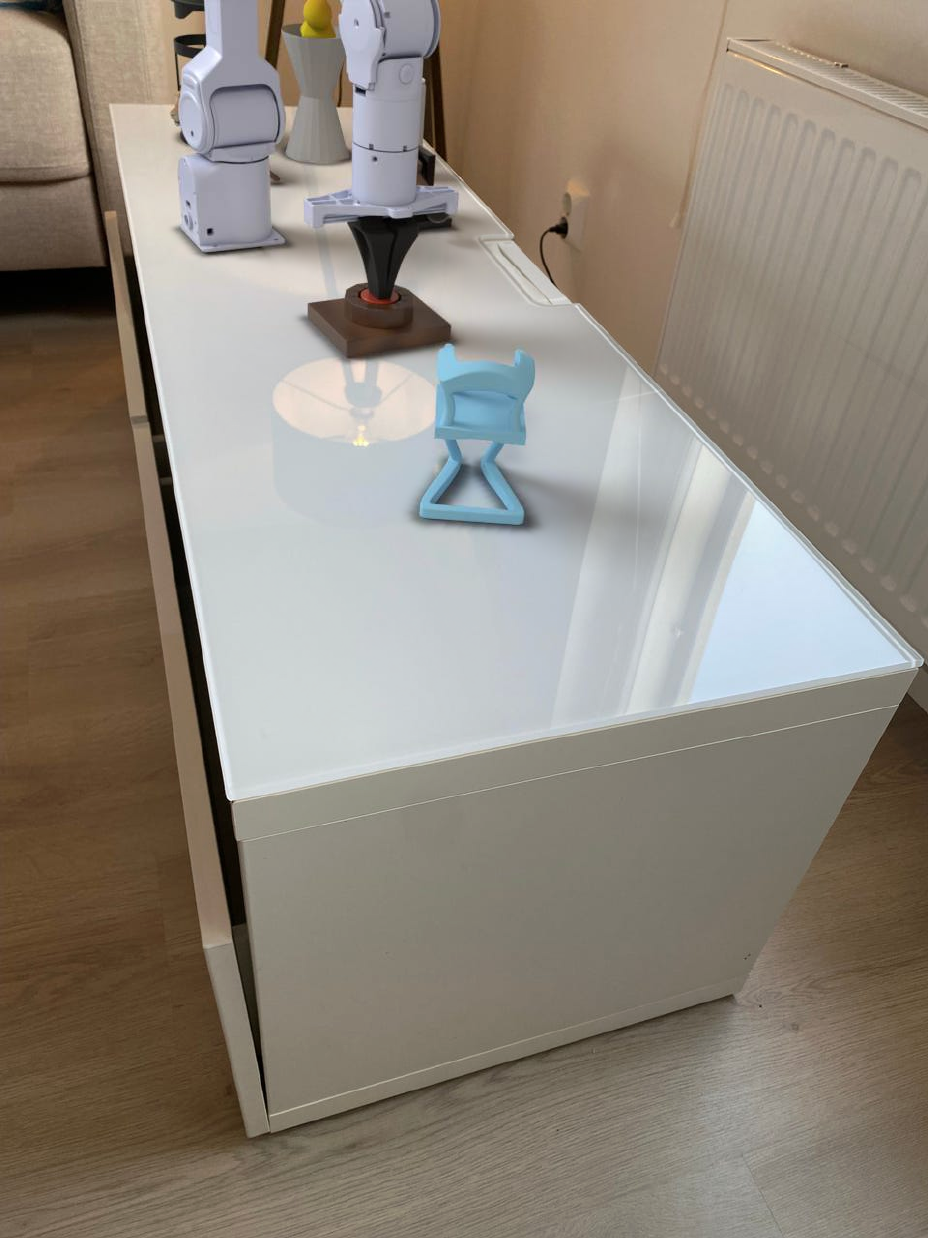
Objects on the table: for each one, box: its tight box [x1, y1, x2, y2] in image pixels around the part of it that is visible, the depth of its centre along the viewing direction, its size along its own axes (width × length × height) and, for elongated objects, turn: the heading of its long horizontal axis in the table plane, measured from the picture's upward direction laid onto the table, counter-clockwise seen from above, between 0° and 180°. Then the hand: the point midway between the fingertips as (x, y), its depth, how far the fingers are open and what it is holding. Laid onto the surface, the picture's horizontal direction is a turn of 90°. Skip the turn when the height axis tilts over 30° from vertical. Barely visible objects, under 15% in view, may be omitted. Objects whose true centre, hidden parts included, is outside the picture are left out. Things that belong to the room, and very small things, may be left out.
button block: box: [307, 282, 452, 359], centre depth 96 cm, size 11×9×4 cm
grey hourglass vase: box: [280, 0, 350, 163], centre depth 127 cm, size 9×9×35 cm
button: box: [361, 289, 399, 305], centre depth 96 cm, size 4×4×2 cm
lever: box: [416, 159, 451, 223], centre depth 116 cm, size 11×3×3 cm, turn 30°
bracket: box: [413, 145, 453, 231], centre depth 119 cm, size 9×8×8 cm
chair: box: [419, 343, 536, 526], centre depth 73 cm, size 8×8×12 cm
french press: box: [170, 0, 206, 145], centre depth 132 cm, size 12×9×23 cm
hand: (379, 295), depth 95 cm, fingers closed, pressing on button
